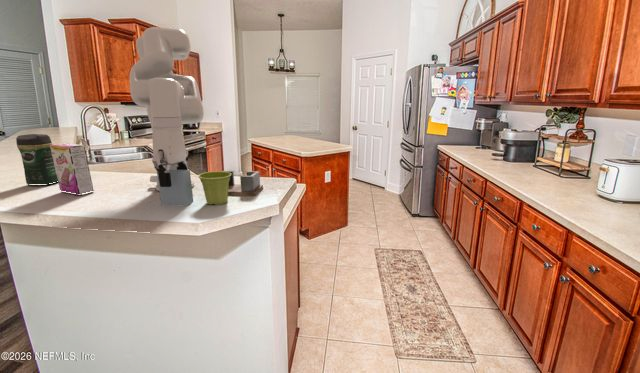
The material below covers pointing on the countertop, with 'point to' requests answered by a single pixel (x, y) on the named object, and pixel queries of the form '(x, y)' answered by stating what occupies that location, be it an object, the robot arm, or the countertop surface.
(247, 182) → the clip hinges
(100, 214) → the countertop surface
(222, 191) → the plant pot
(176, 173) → the door panel
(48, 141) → the coffee jar
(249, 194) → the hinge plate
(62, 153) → the candy bar box
